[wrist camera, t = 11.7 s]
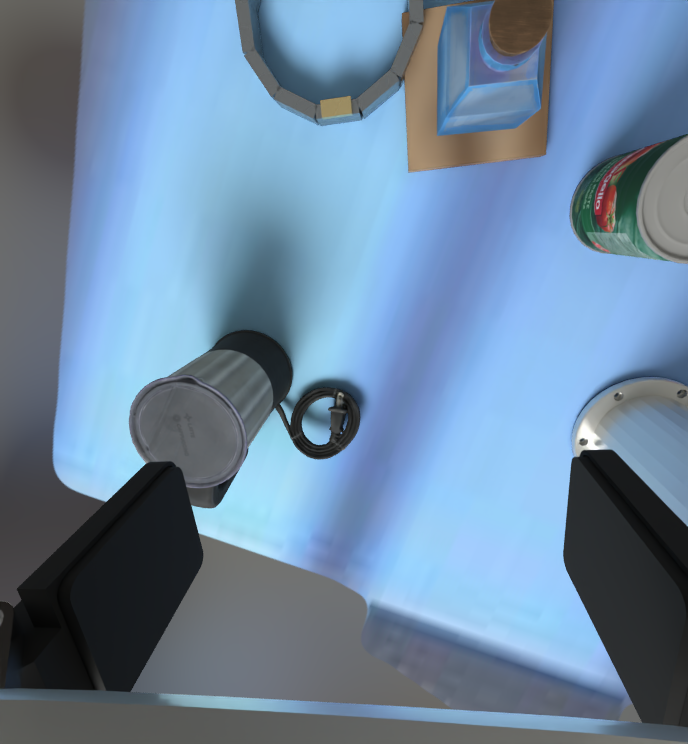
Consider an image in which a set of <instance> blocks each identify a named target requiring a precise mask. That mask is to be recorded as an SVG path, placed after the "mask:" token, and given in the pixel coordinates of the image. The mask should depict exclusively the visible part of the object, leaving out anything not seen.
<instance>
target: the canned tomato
mask: <svg viewBox="0 0 688 744" xmlns="http://www.w3.org/2000/svg"><path fill="white" fill-rule="evenodd" d="M570 222H571V227H572V229H573V232H574V234H575V236H576V237H577V238H578V240H579V241H580V242H581V243H582V244H583V245H584V246H586V247H588V248H589V249H591V250H593V251H596V252H600V253H607V254H616V255H625V256H632V257H641V258H648V259H655V260H663V261H673V262H676V263H684V264H688V134H686V135H682V136H679V137H676V138H673V139H670V140H667V141H664V142H660V143H657V144H654V145H651V146H647V147H644V148H641V149H638V150H635V151H632V152H628V153H625V154H622V155H618V156H615V157H612V158H609V159H607V160H605V161H603V162H601V163H599V164H598V165H597V166H595V167H594V168H593V169H592V170H590V171H589V172H588V173H587V175H586V176H585V177H584V178H583V179H582V180H581V182H580V183H579V185H578V186H577V188H576V190H575V193H574V195H573V197H572V201H571V205H570Z"/></svg>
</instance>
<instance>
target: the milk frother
mask: <svg viewBox="0 0 688 744" xmlns="http://www.w3.org/2000/svg"><path fill="white" fill-rule="evenodd" d="M291 383H292V368H291V364H290V361H289V358H288V356H287V355H286V353H285V351H284V350H283V348H282V347H281V346H280V345H279V344H278V343H277V342H276V341H275V340H273V339H272V338H270V337H268V336H267V335H265V334H262V333H259V332H256V331H249V330H241V331H235V332H233V333H230V334H228V335H226V336H224V337H223V338H221V339H220V340H219V341H218V342H217V343H216V344H215V346H214V347H213V348H212V349H210V350H209V351H208V352H206V353H205V354H203V355H201V356H200V357H198V358H196V359H195V360H193V361H192V362H190V363H188V364H187V365H185V366H184V367H182V368H181V369H179V370H177V371H176V372H174V373H173V374H171V375H170V376H168V377H166V378H160V379H157V380H155V381H153V382H151V383H149V384H148V385H146V386H145V387H144V388H143V389H142V390H141V391H140V392H139V393H138V395H137V396H136V398H135V399H134V401H133V403H132V405H131V410H130V416H129V428H130V434H131V437H132V442H133V444H134V445H135V447H136V450H137V451H138V453H139V455H140V456H141V457H142V458H143V460H144V461H145V463H146V464H147V463H148V462H161V461H172V462H174V464H175V465H176V467H180V468H181V470H182V472H183V475H184V479H185V483H186V487H187V491H188V495H189V499H190V503H191V505H193V506H196V507H202V508H215V507H216V506H217V505H218V504H219V503H220V502H221V501H222V499H223V497H224V495H225V494H226V492H227V490H228V488H229V486H230V485H231V483H232V481H233V480H234V478H235V476H236V474H237V473H238V471H239V469H240V467H241V465H242V464H243V462H244V460H245V458H246V456H247V454H248V447H249V446H250V444H251V443H252V441H253V440H254V438H255V436H256V435H257V433H258V432H259V430H260V429H261V427H262V426H263V424H264V422H265V421H266V419H267V418H268V416H269V415H270V413H271V412H272V411H273V409H274V408H276V410H277V411H278V413H279V415H280V416H281V419H282V421H283V423H284V425H285V427H286V429H287V431H288V433H289V435H290V438H291V439H292V441H293V443H294V445H295V446H296V448H297V449H298V450H299V451H300V452H302V453H303V454H304V455H306V456H307V457H310V458H313V459H327V458H330V457H332V456H334V455H336V454H338V453H339V452H341V451H342V450H344V449H345V448H346V447H347V446H348V445H349V443H350V442H351V441H352V440H353V438H354V437H355V435H356V433H357V431H358V429H359V425H360V411H359V407H358V405H357V403H356V401H355V400H354V398H353V397H352V396H351V395H350V394H348V393H347V392H345V391H343V390H341V389H337V388H330V387H323V388H317V389H314V390H312V391H311V392H309V393H307V394H306V395H304V396H303V397H302V398H301V399H300V400H299V401H298V403H297V404H296V406H295V408H294V410H293V413H292V417H291V425H289V423H288V421H287V418H286V415H285V413H284V410H283V408H282V407H281V405H280V403H281V402H282V401H283V400H284V399H285V397H286V396H287V394H288V392H289V390H290V387H291ZM326 397H332V398H335V399H336V405H335V406H333V407H329V409H328V410H329V411H331V427H330V429H329V430H331V436H330V438H329V440H330V441H329V442H328V443H327V444H323V445H316V444H313V443H312V442H310V441H309V440H308V439H307V438H306V436H305V435H304V432H303V430H302V418H303V415H304V413H305V411H306V410H307V409H308V407H309V406H310V405H311V404H312V403H314V402H315V401H317V400H319V399H322V398H326ZM346 413H348V422H347V426H346V428H345V430H344V428H343V424H344V421H345V416H346ZM343 430H344V431H343ZM340 432H342V434H340Z"/></svg>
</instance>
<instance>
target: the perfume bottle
mask: <svg viewBox="0 0 688 744" xmlns="http://www.w3.org/2000/svg"><path fill="white" fill-rule="evenodd" d="M552 14H553V13H552V1H551V0H494V1H487V2H479V3H472V4H464V5H457V6H449V7H447V9H446V13H445V17H444V21H443V25H442V29H441V34H440V38H439V42H438V50H437V136H442V135H452V134H463V133H473V132H484V131H494V130H505V129H515V128H517V127H518V126H519V125H521V124H522V123H523V122H525V121H526V120H527V119H528V118H530V117H531V116H532V115H533V114H535V113H536V112H537V111H539V110H540V109H541V102H542V89H543V76H544V63H545V50H546V37H547V30H548V28H549V26H550V23H551V18H552Z"/></svg>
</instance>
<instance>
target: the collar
mask: <svg viewBox="0 0 688 744" xmlns="http://www.w3.org/2000/svg"><path fill="white" fill-rule="evenodd" d="M407 3H408V12H409V25H408V28H407V30H406V33H405V35H404V37H403V40H402V42H401V45H400V47H399V50H398V52H397V55H396V57H395V60H394V62H393V64H392V67H391V69H390V70H389V71H388V72H387V73H386V74H384V75H383V76H382V77H381V78H380V79H379V80H378V81H376V82H375V83H374V84H373V85H372V86H371V87H369V88H368V89H367V90H366V91H365V92H364V93H362V94H361V95H360V96H359V97H358V98H357V99H351V96H346V97H339V98H333V99H326V100H320V104H317V105H316V104H314V103H312V102H310V101H308V100H306V99H304V98H302V97H300V96H298V95H296V94H294V93H292V92H290V91H288V90H286V89H284V88H282V87H281V85H280V84H279V82H278V81H277V79H276V77H275V76H274V74H273V73H272V71H271V70H270V68H269V67H268V65H267V64H266V62H265V61H264V56H263V49H262V41H261V34H260V27H259V19H258V10H259V7H260V4H261V0H235V4H236V10H237V17H238V24H239V31H240V37H241V44H242V51H243V53H244V54H245V55H244V57H245V58H246V60H247V61H248V63H249V64H250V66H251V67H252V69H253V70H254V72H255V73H256V75H257V76H258V78H259V79H260V81H261V82H262V84H263V85H264V87H265V88H266V90H267V91H268V93H269V94H270V96H271V97H272V98H273V99H274V100H275V101H276V102H277V103H278V104H279V105H280V106H281V107H282V108H284V109H286V110H288V111H290V112H292V113H294V114H296V115H298V116H300V117H302V118H304V119H307V120H309V121H311V122H313V123H315V124H317V125H319V123H320V125H321V126H324V125H331V124H338V123H345V122H352V121H360V120H362V119H361V115H362V116H363V118H364V119H365V118H366V117H367V116H368V115H370V114H371V113H372V112H373V111H374V110H376V109H377V108H378V107H379V106H380V105H381V104H383V103H384V102H385V101H386V100H387V99H389V98H390V97H391V96H392V95H393V94H395V93H396V92H397V91H398V90H399V86H400V87H401V86H402V83H403V81H404V77H405V72H406V70H407V67H408V65H409V63H410V60H411V58H412V55H413V53H414V51H415V48H416V46H417V44H418V41H419V39H420V36H421V34H422V29H423V23H424V16H423V0H407Z"/></svg>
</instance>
